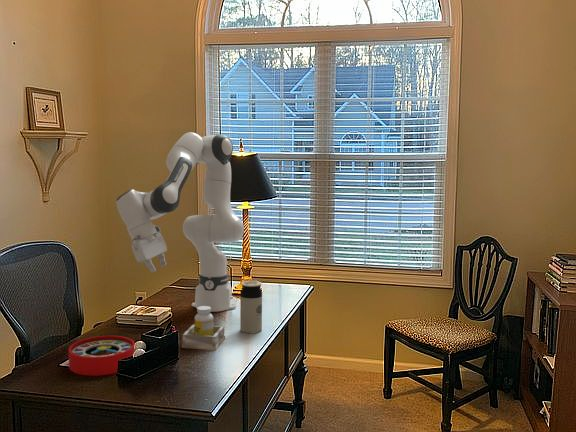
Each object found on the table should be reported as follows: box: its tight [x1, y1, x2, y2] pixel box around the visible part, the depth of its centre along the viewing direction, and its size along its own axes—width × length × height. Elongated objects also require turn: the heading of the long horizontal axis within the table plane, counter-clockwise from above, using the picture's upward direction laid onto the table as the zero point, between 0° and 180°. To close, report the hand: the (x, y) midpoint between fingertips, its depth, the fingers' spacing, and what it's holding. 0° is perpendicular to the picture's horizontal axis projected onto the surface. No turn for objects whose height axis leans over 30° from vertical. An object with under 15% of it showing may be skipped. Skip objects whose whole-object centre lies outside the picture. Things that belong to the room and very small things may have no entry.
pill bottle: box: [194, 306, 214, 336], centre depth 208 cm, size 6×6×12 cm
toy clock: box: [68, 335, 136, 377], centre depth 189 cm, size 20×6×20 cm
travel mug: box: [239, 280, 263, 334], centre depth 222 cm, size 8×8×18 cm
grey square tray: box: [181, 323, 226, 351], centre depth 208 cm, size 12×12×4 cm
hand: (159, 268), depth 215 cm, fingers open, 8 cm apart
